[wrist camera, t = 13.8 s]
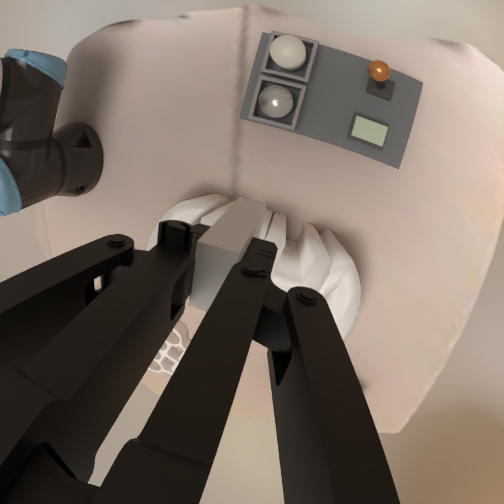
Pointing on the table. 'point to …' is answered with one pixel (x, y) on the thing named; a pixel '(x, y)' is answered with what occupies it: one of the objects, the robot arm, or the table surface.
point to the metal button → (276, 101)
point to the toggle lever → (379, 72)
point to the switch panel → (335, 99)
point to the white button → (288, 52)
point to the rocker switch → (369, 131)
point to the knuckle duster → (171, 350)
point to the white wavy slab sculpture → (290, 256)
